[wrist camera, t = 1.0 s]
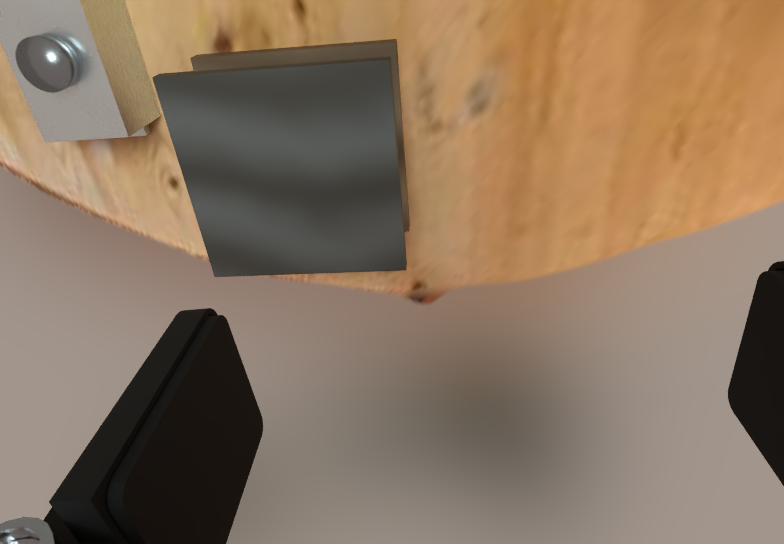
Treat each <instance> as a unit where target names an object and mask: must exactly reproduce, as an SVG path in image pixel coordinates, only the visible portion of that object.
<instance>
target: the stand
mask: <svg viewBox="0 0 784 544" xmlns="http://www.w3.org/2000/svg"><path fill="white" fill-rule="evenodd" d="M191 62H192V66H193V69H194V71H190V72H177V73H164V74H158V75H156V76H154V77H152V78H153V81H154V84H155V88H156V91H157V94H158V97H159V100H160V104H161V107H162V110H163V113H164V116H165V120H166V123H167V126H168V129H169V132H170V135H171V139H172V142H173V145H174V148H175V151H176V155H177V158H178V161H179V164H180V167H181V171H182V174H183V177H184V180H185V183H186V186H187V190H188V193H189V196H190V199H191V202H192V206H193V209H194V212H195V215H196V218H197V221H198V225H199V228H200V231H201V234H202V237H203V241H204V244H205V247H206V250H207V253H208V257H209V260H210V263H211V266H212V269H213V272H214V276H215V277H227V276H256V275H284V274H313V273H341V272H370V271H398V270H406V265H407V260H406V248H405V235H404V231H409V225H410V223H409V209H408V195H407V181H406V167H405V153H404V139H403V125H402V111H401V97H400V83H399V69H398V55H397V41H396V39H393V40H380V41H367V42H354V43H342V44H329V45H316V46H303V47H291V48H278V49H265V50H252V51H239V52H227V53H214V54H201V55H196V56H194V57H192V58H191Z"/></svg>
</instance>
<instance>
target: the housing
mask: <svg viewBox="0 0 784 544" xmlns="http://www.w3.org/2000/svg"><path fill="white" fill-rule="evenodd" d="M0 43H1V45H2V47H3V50H4V52H5V54H6V56H7V58H8V61H9V63H10V65H11V67H12V70H13V72H14V74H15V76H16V79H17V81H18V83H19V85H20V88H21V90H22V92H23V94H24V96H25V99H26V101H27V103H28V105H29V108H30V110H31V112H32V114H33V117H34V119H35V121H36V123H37V126H38V128H39V130H40V132H41V134H42V137H43V139H44V141H45V142H60V141H75V140H91V139H107V138H123V137H133V136H147V135H148V134H149V133H151V131H150V128H149V125H148V124H149V123H151V122H152V121H154V120H155V119H157V118H158V117H160V116H161V114H160V111H159V107H158V104H157V101H156V98H155V95H154V92H153V89H152V85H151V82H150V79H149V76H148V73H147V70H146V66H145V63H144V60H143V57H142V54H141V51H140V48H139V44H138V41H137V38H136V35H135V32H134V29H133V25H132V22H131V19H130V16H129V13H128V10H127V6H126V3H125V0H0Z"/></svg>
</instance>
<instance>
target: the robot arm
mask: <svg viewBox="0 0 784 544" xmlns="http://www.w3.org/2000/svg"><path fill="white" fill-rule="evenodd" d="M728 399H729V403H730V406H731V408H732V410H733V412H734V414H735V415H736V417H737V418H738V419H739V421H740V422H741V424H742V425H743V427H744V428H745V430H746V431H747V433H748V434H749V436H750V437H751V439H752V440H753V441H754V443H755V445H756V446H757V447H758V449H759V450H760V452H761V453H762V455H763V456H764V458H765V459H766V461H767V462H768V464H769V465H770V467H771V468H772V469H773V471H774V472H775V474H776V475H777V477H778V478H779V480H780V481H781V483H782V484H783V486H784V261H781V262H776V263H774V264H772V265H771V267H770V268H769V270H768V271H765V272H763V273H761V275H760V276H759V278H758V280H757V284H756V288H755V291H754V295H753V299H752V303H751V306H750V310H749V314H748V318H747V321H746V325H745V329H744V333H743V336H742V340H741V344H740V347H739V351H738V355H737V359H736V362H735V366H734V370H733V374H732V378H731V381H730V385H729V389H728ZM262 432H263V421H262V416H261V413H260V410H259V407H258V405H257V402H256V399H255V396H254V394H253V391H252V388H251V385H250V383H249V380H248V377H247V374H246V371H245V369H244V366H243V363H242V360H241V358H240V355H239V352H238V349H237V346H236V344H235V341H234V338H233V335H232V333H231V330H230V327H229V324H228V322H227V319H226V318H225V317H224V316H222V315H217V313H216V312H215V310H213V309H211V308H208V309H196V310H184V311H180V312H179V313H178V314H177V315H176V316H175V318H174V319H173V321H172V322H171V324H170V325H169V327H168V328H167V330H166V331H165V333H164V334H163V336H162V337H161V338H160V340H159V341H158V343H157V344H156V346H155V348H154V349H153V350H152V352H151V353H150V355H149V356H148V358H147V359H146V360H145V362H144V364H143V365H142V366H141V368H140V369H139V371H138V372H137V374H136V375H135V377H134V378H133V380H132V381H131V383H130V384H129V385H128V387H127V388H126V390H125V391H124V393H123V394H122V396H121V397H120V399H119V400H118V402H117V403H116V404H115V406H114V407H113V409H112V410H111V412H110V413H109V415H108V416H107V418H106V419H105V421H104V422H103V423H102V425H101V426H100V428H99V430H98V431H97V433H96V434H95V436H94V437H93V438H92V440H91V441H90V443H89V444H88V446H87V447H86V449H85V450H84V451H83V453H82V454H81V456H80V457H79V459H78V460H77V462H76V463H75V465H74V466H73V468H72V469H71V471H70V472H69V473H68V475H67V476H66V478H65V479H64V481H63V482H62V484H61V485H60V487H59V488H58V490H57V491H56V493H55V494H54V496H53V497H52V498H51V500H50V501H49V503H50V504H51V506H52V508H51V510H50V511H49V513H48V514H47V516H46V517H45V519H44V520H41V519H39V518H31V517H22V518H18V519H14V520H10V521H6V522H4V523H2V524H0V544H226V542H227V539H228V536H229V533H230V530H231V527H232V524H233V521H234V518H235V515H236V512H237V509H238V506H239V503H240V500H241V497H242V494H243V491H244V488H245V485H246V482H247V479H248V476H249V473H250V470H251V467H252V464H253V461H254V458H255V455H256V452H257V449H258V446H259V443H260V440H261V437H262Z"/></svg>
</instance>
